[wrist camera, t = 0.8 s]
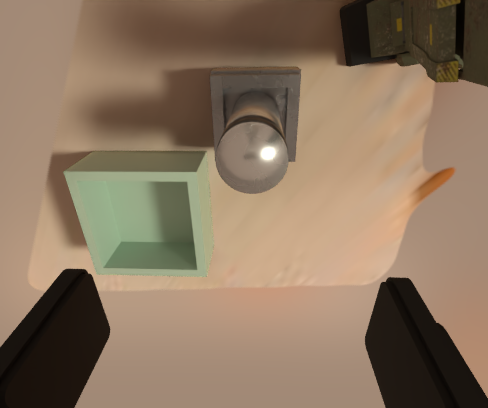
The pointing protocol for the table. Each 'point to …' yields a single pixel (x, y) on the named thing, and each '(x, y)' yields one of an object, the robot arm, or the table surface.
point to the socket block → (257, 80)
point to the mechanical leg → (420, 36)
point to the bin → (144, 211)
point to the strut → (253, 146)
